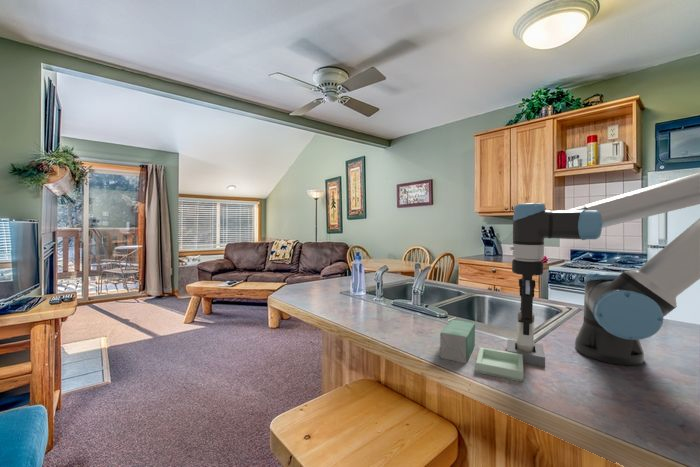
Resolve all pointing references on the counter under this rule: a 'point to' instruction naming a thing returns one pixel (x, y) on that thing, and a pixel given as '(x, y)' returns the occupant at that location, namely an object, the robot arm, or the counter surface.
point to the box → (457, 341)
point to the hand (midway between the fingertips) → (525, 341)
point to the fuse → (519, 347)
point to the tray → (500, 364)
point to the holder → (528, 353)
